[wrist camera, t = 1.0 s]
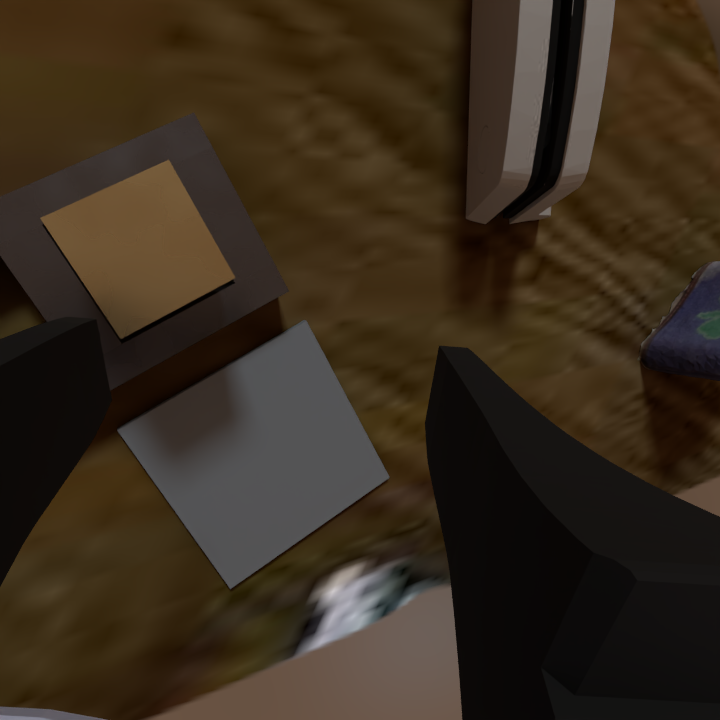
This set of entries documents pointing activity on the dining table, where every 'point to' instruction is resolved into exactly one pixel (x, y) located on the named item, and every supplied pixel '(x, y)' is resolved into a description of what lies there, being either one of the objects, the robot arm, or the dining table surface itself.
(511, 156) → the grey rounded block
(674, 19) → the dining table surface
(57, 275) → the double cubby frame
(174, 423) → the mat
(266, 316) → the dining table surface
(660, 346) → the flask
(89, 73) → the dining table surface
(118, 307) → the tan rectangular block
